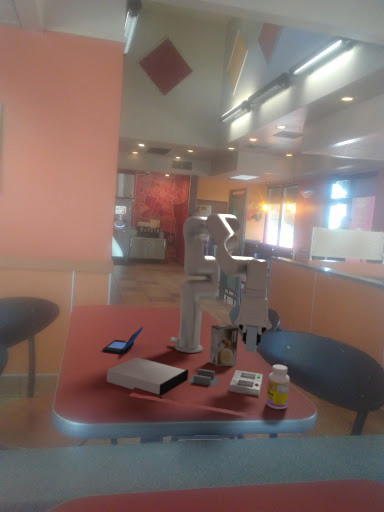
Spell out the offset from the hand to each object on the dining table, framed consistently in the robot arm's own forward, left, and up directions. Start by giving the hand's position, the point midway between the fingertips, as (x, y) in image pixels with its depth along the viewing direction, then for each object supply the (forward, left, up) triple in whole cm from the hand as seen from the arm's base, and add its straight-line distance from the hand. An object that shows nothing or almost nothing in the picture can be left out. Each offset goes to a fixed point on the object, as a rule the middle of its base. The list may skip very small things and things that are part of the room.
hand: (251, 343), depth 150 cm
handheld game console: (-57, +18, -16) cm, 61 cm away
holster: (-15, -6, -15) cm, 22 cm away
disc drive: (-34, -13, -16) cm, 40 cm away
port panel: (0, -4, -15) cm, 16 cm away
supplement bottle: (+11, -15, -15) cm, 24 cm away
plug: (0, 0, -2) cm, 2 cm away
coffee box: (-12, +16, -15) cm, 25 cm away
